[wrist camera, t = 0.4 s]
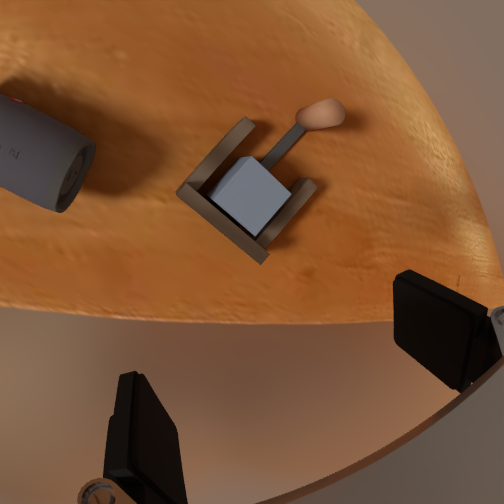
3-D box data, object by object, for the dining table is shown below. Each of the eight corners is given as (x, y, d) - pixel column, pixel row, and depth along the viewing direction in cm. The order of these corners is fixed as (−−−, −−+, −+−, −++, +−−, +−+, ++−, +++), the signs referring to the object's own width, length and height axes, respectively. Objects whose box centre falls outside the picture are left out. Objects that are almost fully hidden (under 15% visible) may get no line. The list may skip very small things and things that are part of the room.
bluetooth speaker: (107, 140, 31) (84, 130, 22) (74, 210, 32) (44, 225, 23) (-14, 85, 23) (-53, 70, 14) (-40, 147, 24) (-82, 146, 15)
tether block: (298, 95, 35) (323, 83, 29) (329, 127, 38) (357, 122, 31) (206, 194, 36) (214, 200, 30) (242, 225, 38) (257, 238, 32)
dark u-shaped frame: (239, 120, 35) (250, 113, 30) (307, 185, 39) (325, 188, 34) (175, 191, 35) (176, 195, 30) (249, 253, 39) (260, 265, 35)
